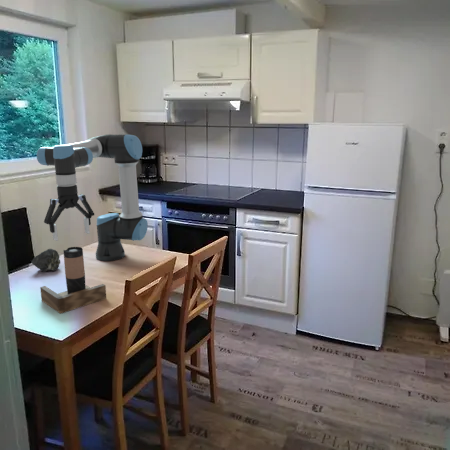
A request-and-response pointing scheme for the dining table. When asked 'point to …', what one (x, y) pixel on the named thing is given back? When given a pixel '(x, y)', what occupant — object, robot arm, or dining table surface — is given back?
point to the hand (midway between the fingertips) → (71, 236)
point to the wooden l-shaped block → (72, 298)
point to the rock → (47, 260)
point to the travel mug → (74, 269)
